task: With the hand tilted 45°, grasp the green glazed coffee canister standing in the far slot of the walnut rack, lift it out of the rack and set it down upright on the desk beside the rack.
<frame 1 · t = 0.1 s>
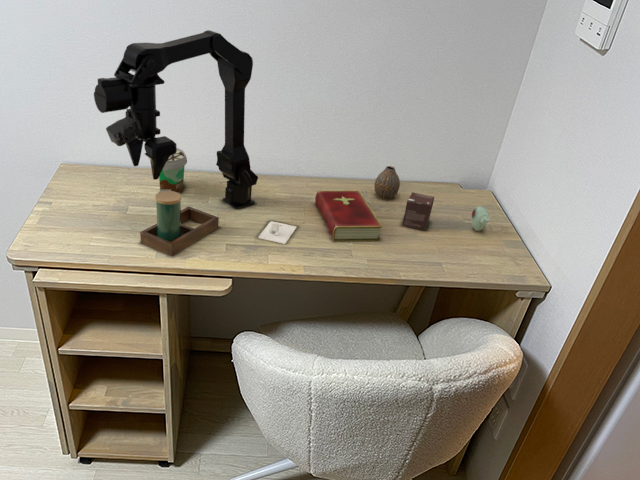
hand: (145, 172, 144), 15 cm above the table, tool pointing down, fingers open, 9 cm apart
box: (415, 224, 161), on the table
food container: (175, 189, 172), on the table
canister: (169, 242, 147), resting in rack
rack: (180, 235, 150), on the table
pale green lumpy piece: (475, 231, 160), on the table
vase: (384, 197, 175), on the table
adhesive hook: (277, 232, 154), on the table
hardcover book: (345, 222, 160), on the table
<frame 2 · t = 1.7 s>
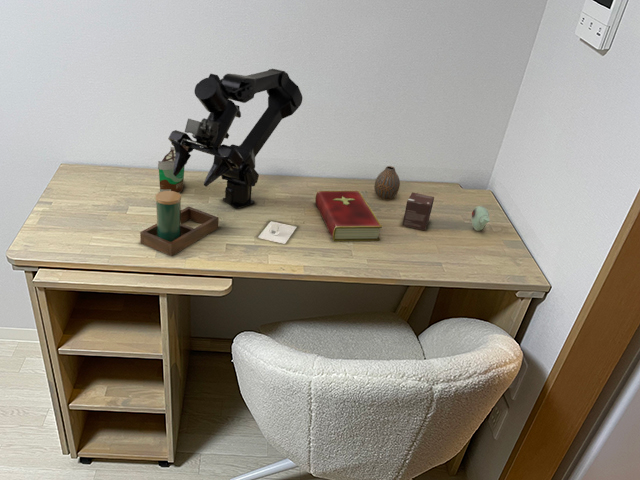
hand: (189, 180, 145), 13 cm above the table, tool tilted 45°, fingers open, 9 cm apart
nothing on the table moved.
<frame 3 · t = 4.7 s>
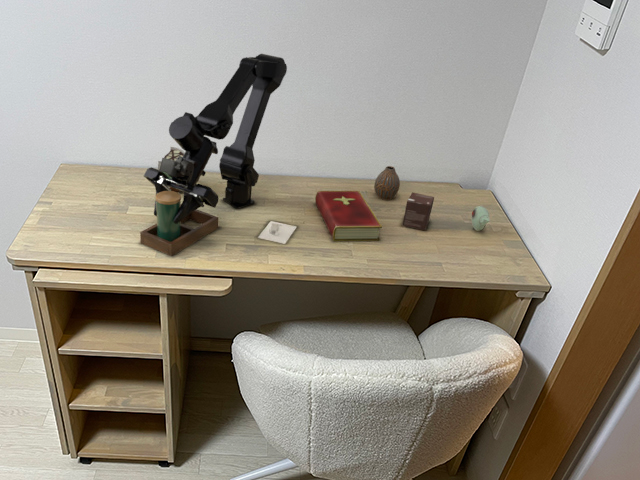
hand: (164, 219, 142), 7 cm above the table, tool tilted 45°, fingers closed on canister, 5 cm apart
canister: (169, 242, 147), resting in rack, touching gripper
everything else where it was.
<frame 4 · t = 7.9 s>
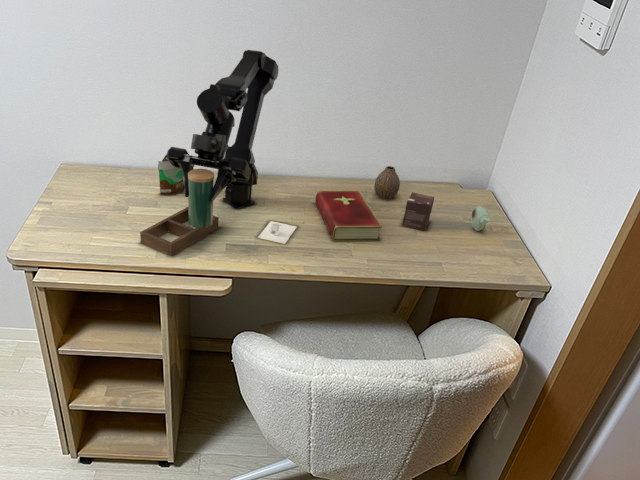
hand: (198, 198, 136), 13 cm above the table, tool tilted 45°, fingers closed on canister, 5 cm apart
canister: (200, 222, 141), point 7 cm above the table, touching gripper
everything else where it was.
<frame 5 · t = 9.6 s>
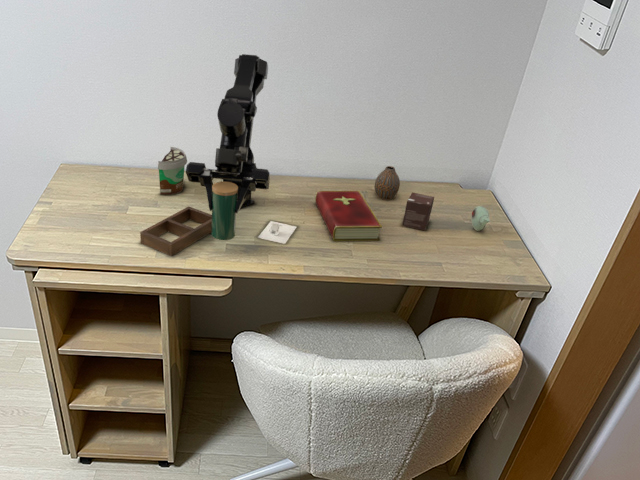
hand: (223, 211, 138), 11 cm above the table, tool tilted 45°, fingers closed on canister, 5 cm apart
canister: (223, 234, 143), point 4 cm above the table, touching gripper
everything else where it was.
when the fingers open (7 cm above the table, at t = 11.2 s): canister stays where it is, on the table.
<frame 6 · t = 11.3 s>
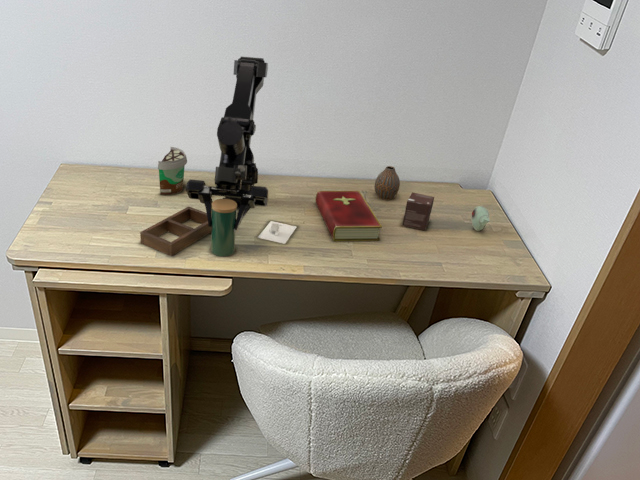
hand: (222, 228, 140), 7 cm above the table, tool tilted 45°, fingers open, 6 cm apart
canister: (222, 250, 145), on the table
everything else where it was.
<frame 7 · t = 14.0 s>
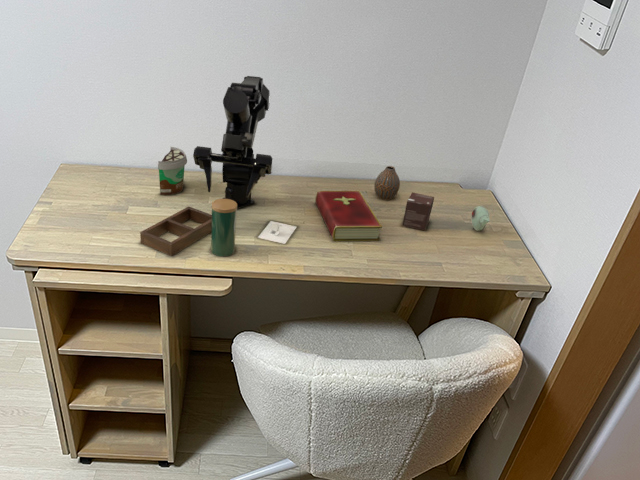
hand: (228, 194, 146), 11 cm above the table, tool tilted 45°, fingers open, 9 cm apart
nothing on the table moved.
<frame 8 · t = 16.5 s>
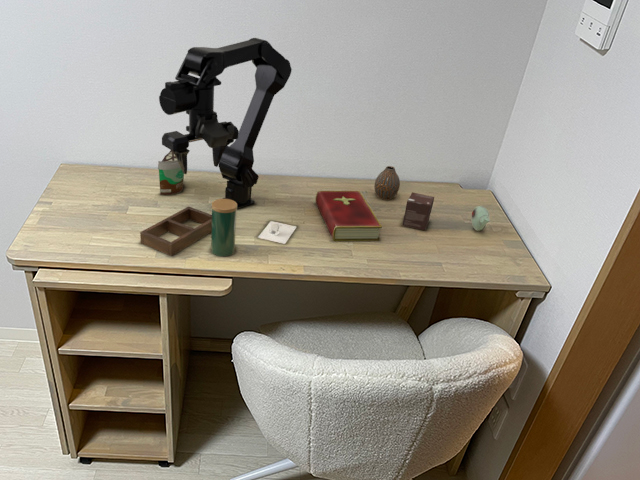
hand: (200, 169, 151), 13 cm above the table, tool pointing down, fingers open, 9 cm apart
nothing on the table moved.
at the end: canister inside the target area (0.2 cm from its centre), on the table; canister tilted 0°; the gripper is holding nothing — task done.
